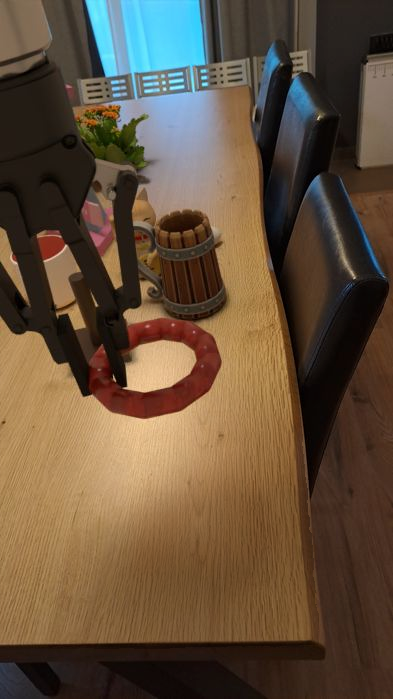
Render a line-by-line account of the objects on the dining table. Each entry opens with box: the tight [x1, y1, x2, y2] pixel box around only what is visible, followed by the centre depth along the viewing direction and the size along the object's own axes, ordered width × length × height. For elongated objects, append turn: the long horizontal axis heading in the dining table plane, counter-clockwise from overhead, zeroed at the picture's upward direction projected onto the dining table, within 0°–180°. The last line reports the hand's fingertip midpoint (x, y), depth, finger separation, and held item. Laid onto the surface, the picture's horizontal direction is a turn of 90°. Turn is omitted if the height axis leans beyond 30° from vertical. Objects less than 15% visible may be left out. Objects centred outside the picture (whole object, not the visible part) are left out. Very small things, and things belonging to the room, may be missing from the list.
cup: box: [9, 234, 79, 310], centre depth 89 cm, size 10×10×10 cm
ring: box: [89, 317, 223, 420], centre depth 41 cm, size 11×11×2 cm
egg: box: [210, 225, 223, 246], centre depth 97 cm, size 4×6×4 cm, turn 98°
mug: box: [133, 208, 226, 320], centre depth 80 cm, size 16×11×15 cm
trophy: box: [45, 84, 114, 256], centre depth 101 cm, size 20×17×30 cm
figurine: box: [109, 187, 161, 279], centre depth 90 cm, size 9×10×15 cm
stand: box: [68, 271, 132, 365], centre depth 74 cm, size 9×9×14 cm
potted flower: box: [75, 103, 150, 170], centre depth 128 cm, size 25×24×18 cm
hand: (104, 380), depth 42 cm, fingers closed on ring, 2 cm apart
